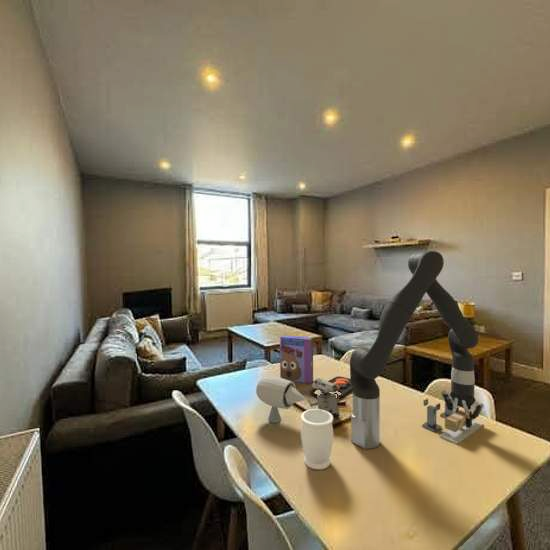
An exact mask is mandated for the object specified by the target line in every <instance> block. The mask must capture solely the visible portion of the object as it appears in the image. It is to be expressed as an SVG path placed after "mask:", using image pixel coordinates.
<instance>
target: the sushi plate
mask: <svg viewBox="0 0 550 550" xmlns="http://www.w3.org/2000/svg"><path fill="white" fill-rule="evenodd" d="M329 380H330V383H333V384H335V385H337V386H338V390H337V391H338V392H340V393H341V395H339V396H341V397H343V396H349V395H353V392H352V393H351V392H350V391H353V388H352V385H351V379H350V378H348V377H345V376H335V377H333V378H331V379H329ZM329 380H327V381H328V382H329ZM316 390H318V389H315V388H313V389H312V390H310V394H311V395H313V396H316V395H317V394H315V393H314V392H315V391H316ZM330 392H331V391H330ZM335 392H336V391H335ZM348 392H350V393H348ZM317 396H318V395H317ZM317 396H316V397H317Z"/></svg>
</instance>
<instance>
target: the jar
mask: <svg viewBox="0 0 550 550" xmlns="http://www.w3.org/2000/svg"><path fill="white" fill-rule="evenodd" d="M300 419H301V426H300V427H301V429H300V439H301V445H302V451H303V454H304V459H303V461H304V463H305V465H306V466H307V467H309V469H312V470H316V471H317V470H324V469H326V468H328V467H329V466H330V465H331V459H330V457H331V454H332V452H333V451H332V450H333V444H334V427H333V422H334V415H332V414H331V413H329V412H327V411H325V410H321V409H318V408H311V409H307V410H305V411H303V412H302V413H301V414H300Z"/></svg>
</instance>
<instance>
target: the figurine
mask: <svg viewBox="0 0 550 550" xmlns="http://www.w3.org/2000/svg"><path fill="white" fill-rule="evenodd" d="M330 380H331V379H329V380H325V379H323V378H319V377H317V378H315V379H314V380H313V382H312V383H311V385H312V388H313V389H318V390H320V391H321V393H322V394H320V395H318V396H316V398H317V399H316V400H317V401H315V402H313V403H312V402H311V401H310V400H308V403H309V407H312V408H313V407H315V406H317V407H318V408H317V409H321V410H325V411H327V412H329V413H331V414H333V415H332V416H334V415H335V416H336V418H340V417H341V415H340V409H339V405H340V404H341V402H340V400H341V399H340V398H339V395H338V394H337V393H334V394H337V398H336V395H334V394H331V393H329V392H330V391H331V392H335V391H337V390H338V386H337V385H335V384H333V383H330ZM328 381H329V382H328ZM335 416H334V417H335ZM339 416H340V417H339Z"/></svg>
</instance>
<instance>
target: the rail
mask: <svg viewBox="0 0 550 550" xmlns="http://www.w3.org/2000/svg"><path fill="white" fill-rule="evenodd" d="M475 409H476V408H475V405H474V404H473V405H472V414H473V413H474V411H475ZM466 418H467V417H466V412H465V411H464V408H463V407H461V408H459V411H457V412H455V413H454V414H452V415H450V416H449V417H447V418H444V429H446V430H451V431H453V432H456V431H458V430H459V429H461V428H462V427H463V426H465V425H466ZM472 420H475V419H473V418H472Z"/></svg>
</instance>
